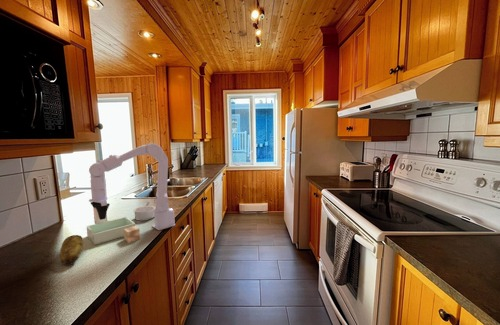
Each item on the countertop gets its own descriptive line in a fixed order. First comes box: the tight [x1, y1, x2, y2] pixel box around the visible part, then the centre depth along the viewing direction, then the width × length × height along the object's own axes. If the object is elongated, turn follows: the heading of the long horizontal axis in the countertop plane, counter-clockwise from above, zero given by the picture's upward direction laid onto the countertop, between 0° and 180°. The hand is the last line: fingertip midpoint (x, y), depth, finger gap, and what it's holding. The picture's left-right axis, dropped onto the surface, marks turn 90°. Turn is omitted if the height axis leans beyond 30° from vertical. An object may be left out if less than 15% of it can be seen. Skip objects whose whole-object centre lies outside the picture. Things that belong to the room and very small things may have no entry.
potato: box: [59, 234, 84, 266], centre depth 87 cm, size 8×13×8 cm, turn 13°
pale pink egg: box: [92, 207, 108, 224], centre depth 105 cm, size 5×5×7 cm
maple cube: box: [123, 225, 141, 243], centre depth 104 cm, size 5×5×5 cm
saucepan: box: [133, 201, 156, 222], centre depth 136 cm, size 12×20×6 cm, turn 16°
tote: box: [86, 216, 136, 246], centre depth 109 cm, size 17×13×5 cm
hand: (100, 217), depth 105 cm, fingers closed on pale pink egg, 5 cm apart
